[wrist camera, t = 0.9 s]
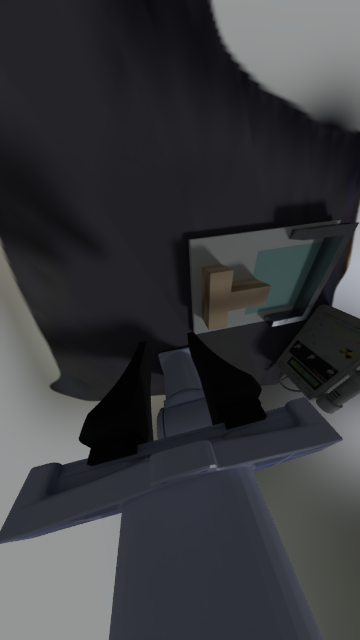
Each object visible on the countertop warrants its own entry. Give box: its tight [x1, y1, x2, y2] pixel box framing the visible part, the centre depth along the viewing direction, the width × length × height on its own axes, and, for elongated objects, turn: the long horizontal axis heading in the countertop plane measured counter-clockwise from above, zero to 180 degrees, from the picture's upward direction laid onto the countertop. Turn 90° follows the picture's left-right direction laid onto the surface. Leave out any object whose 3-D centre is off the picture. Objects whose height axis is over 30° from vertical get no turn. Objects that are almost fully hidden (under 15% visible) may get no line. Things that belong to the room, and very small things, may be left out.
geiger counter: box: [275, 305, 360, 414], centre depth 31 cm, size 14×6×25 cm
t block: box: [202, 264, 271, 330], centre depth 21 cm, size 9×9×4 cm
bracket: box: [263, 223, 359, 327], centre depth 22 cm, size 15×7×2 cm, turn 6°
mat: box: [188, 220, 341, 334], centre depth 23 cm, size 16×22×1 cm
